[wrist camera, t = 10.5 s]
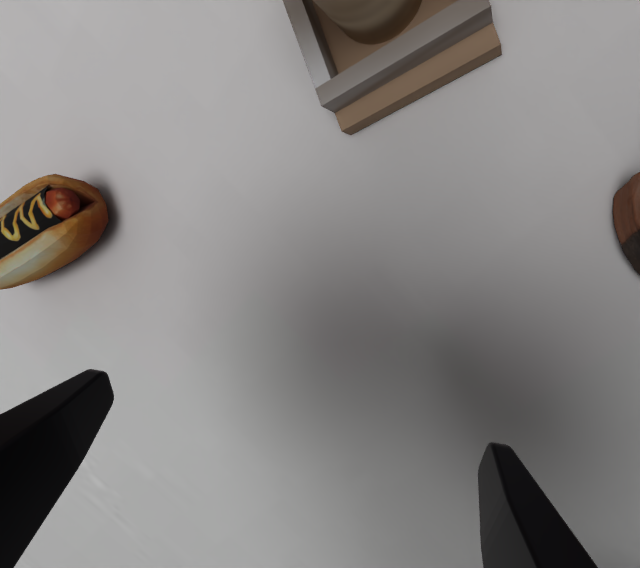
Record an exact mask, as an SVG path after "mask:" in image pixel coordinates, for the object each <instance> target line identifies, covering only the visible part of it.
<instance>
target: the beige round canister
mask: <svg viewBox="0 0 640 568" xmlns="http://www.w3.org/2000/svg"><path fill="white" fill-rule="evenodd" d="M313 1H314V2H315V3H316V4H317V5H318V6H319V7H320V8H321V9H322V10H323V11H324V12H325V13H326V14H327V15H328V16H329V17H330V18H331V19H332V20H333V21H334V22H335V23H336V25H337V26H338V27H339V28H340V29H341V30H342V31H343V32H344V33H345V34H346V35H347V36H349V37H350V38H351V39H353V40H354V41H356V42H359V43H362V44H369V45H373V44H379V43H383V42H386V41H388V40H390V39H392V38H394V37H395V36H397V35H398V34H400V33H401V32H402V31H403V30H404V29H405V28H406V27H407V26H408V25H409V24H410V22H411V21H412V20H413V18H414V17H415V15H416V13H417V12H418V9H419V7H420V5H421V2H422V0H313Z"/></svg>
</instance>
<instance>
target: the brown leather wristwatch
mask: <svg viewBox="0 0 640 568" xmlns="http://www.w3.org/2000/svg"><path fill="white" fill-rule="evenodd" d="M613 217H614V225H615V229H616V232H617V235H618V239H619V241H620V243H621V245H622V249H623V251H624V253H625V255H626V257H627V258H628V260H629V261H630V263H631V264H632V266H633V267H634V269H635V271H636V272H637V273H638V274H639V275H640V172H639V173H637V174H635V175H634V176H633V177H632V178H631V179H630V180H629V182H628V183H626V184H625V185H624V186H623V187H622V188H621V189H620V190H618V191H617V192H616V194H615V196H614V204H613Z"/></svg>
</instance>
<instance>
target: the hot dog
mask: <svg viewBox="0 0 640 568" xmlns="http://www.w3.org/2000/svg"><path fill="white" fill-rule="evenodd" d="M108 221H109V220H108V213H107V207H106V203H105V201H104V200H103V198H102V196H101V194H100V192H99V190H98V189H97V188H95V187H93V186H91V185H90V184H88V183H86V182H84V181H81V180H77V179H73V178H69V177H65V176H61V175H57V174H53V175H47V176H44V177H41V178H38V179H36V180H34V181H32V182H30V183H28V184H26V185H25V186H23V187H22V188H21V189H19V190H18V191H17V192H15V193H14V194H13V195H11V196H10V197H9V198H7V199H6V200H5V201H3V202H2V203H1V204H0V289H7V288H13V287H16V286H19V285H22V284H25V283H28V282H31V281H34V280H37V279H39V278H41V277H44V276H46V275H48V274H50V273H52V272H54V271H56V270H58V269H59V268H61V267H63V266H65V265H67V264H69V263H70V262H72V261H74V260H76V259H77V258H78V257H80V256H81V255H82V254H83V253H84V252H85V251H87V250H88V249H89V248H90V247H91V246H93V245H94V244H95V243H96V242H97V241H98V240H99V238H100V237H101V235H102V233H103V232H104V230H105V228H106V225H107V223H108Z"/></svg>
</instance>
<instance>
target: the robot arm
mask: <svg viewBox="0 0 640 568" xmlns="http://www.w3.org/2000/svg"><path fill="white" fill-rule="evenodd" d="M113 400H114V393H113V390H112V387H111V383H110V380H109V377H108V374H107V373H106V372H104V371H99V370H94V369H89V370H86V371H84V372H82V373H80V374H78V375H76V376H74V377H72V378H70V379H68V380H66V381H64V382H63V383H61V384H59V385H57V386H55V387H53V388H51V389H49V390H47V391H45V392H43V393H41V394H39V395H37V396H35V397H33V398H31V399H30V400H28V401H26V402H24V403H22V404H20V405H18V406H16V407H14V408H12V409H10V410H8V411H6V412H4V413H2V414H0V568H14V566H15V565H16V563H17V562H18V560H19V559H20V557H21V555H22V554H23V552H24V551H25V549H26V548H27V546H28V545H29V543H30V542H31V540H32V539H33V537H34V535H35V534H36V532H37V531H38V529H39V528H40V526H41V525H42V523H43V522H44V520H45V519H46V517H47V515H48V514H49V512H50V511H51V509H52V508H53V506H54V505H55V503H56V502H57V500H58V499H59V497H60V496H61V494H62V492H63V491H64V489H65V488H66V486H67V485H68V483H69V482H70V480H71V479H72V477H73V476H74V474H75V472H76V471H77V469H78V468H79V466H80V464H81V463H82V461H83V459H84V458H85V456H86V454H87V452H88V450H89V448H90V446H91V444H92V443H93V441H94V439H95V437H96V435H97V433H98V431H99V429H100V427H101V425H102V423H103V421H104V420H105V418H106V416H107V414H108V412H109V410H110V408H111V406H112V404H113ZM478 486H479V511H480V536H481V551H482V559H483V566H484V568H598V567H597V566H596V564H595V563H594V562H593V560H592V559H591V557H590V556H589V555H588V553H587V552H586V550H585V549H584V548H583V546H582V545H581V544H580V542H579V541H578V539H577V538H576V537H575V535H574V534H573V532H572V531H571V530H570V528H569V527H568V526H567V524H566V523H565V521H564V520H563V519H562V517H561V516H560V514H559V513H558V512H557V510H556V509H555V508H554V506H553V505H552V503H551V502H550V501H549V499H548V498H547V496H546V495H545V494H544V492H543V491H542V490H541V488H540V487H539V485H538V484H537V483H536V481H535V480H534V478H533V477H532V476H531V474H530V473H529V472H528V470H527V469H526V467H525V466H524V465H523V463H522V462H521V460H520V459H519V458H518V456H517V455H516V454H515V452H514V451H513V449H512V448H511V447H509V446H508V445H504V444H499V443H493V442H491V443H489V444H488V445H487V448H486V450H485V452H484V455H483V457H482V460H481V462H480V465H479V470H478Z"/></svg>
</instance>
